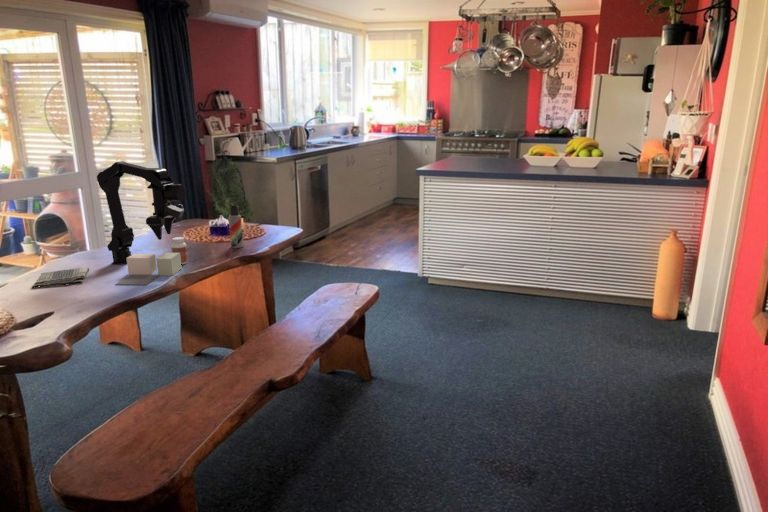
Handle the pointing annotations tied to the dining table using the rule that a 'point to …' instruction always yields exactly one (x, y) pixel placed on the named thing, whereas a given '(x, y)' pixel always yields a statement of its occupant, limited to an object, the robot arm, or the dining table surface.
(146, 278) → the slate mat
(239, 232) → the lotion bottle
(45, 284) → the dish towel
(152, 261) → the upright cream box
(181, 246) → the pill bottle
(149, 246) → the dining table surface
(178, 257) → the pale green block
